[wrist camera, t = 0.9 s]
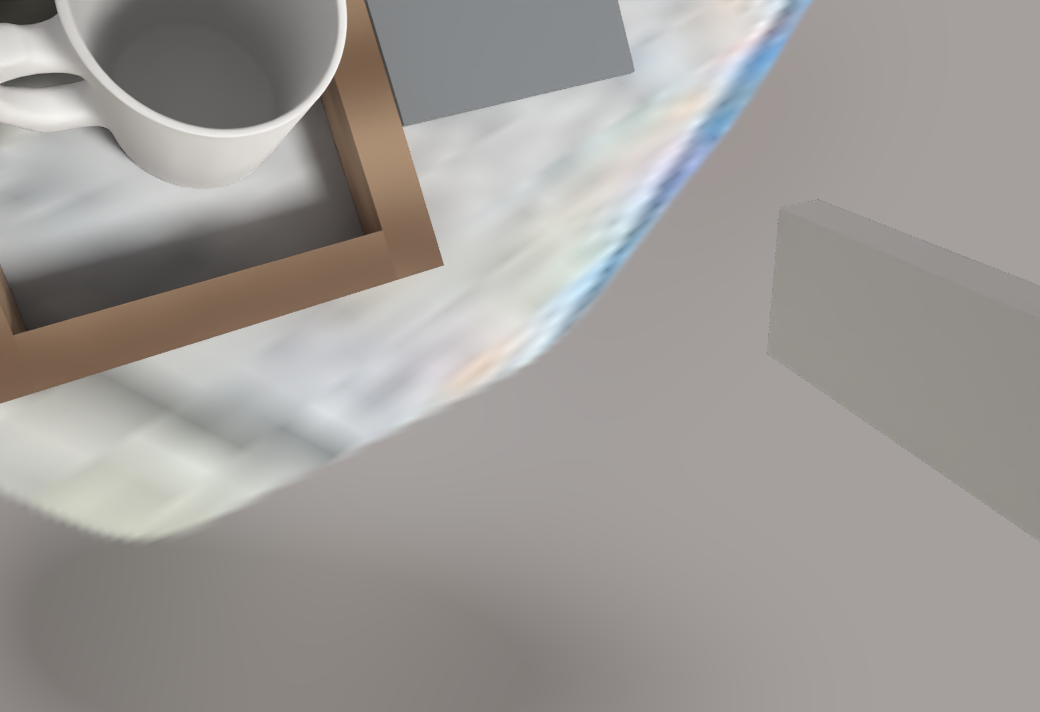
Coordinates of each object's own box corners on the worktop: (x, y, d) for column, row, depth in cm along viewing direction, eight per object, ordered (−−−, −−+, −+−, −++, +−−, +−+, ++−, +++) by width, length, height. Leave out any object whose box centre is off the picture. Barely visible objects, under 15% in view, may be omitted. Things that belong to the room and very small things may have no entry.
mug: (256, 7, 31) (306, -152, 20) (305, 176, 32) (377, 111, 21) (-35, 43, 27) (-169, -130, 16) (33, 233, 28) (-50, 189, 18)
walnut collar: (-226, -96, 25) (-274, -144, 22) (295, -143, 31) (308, -186, 29) (-13, 402, 28) (-31, 413, 25) (421, 268, 34) (443, 265, 32)
